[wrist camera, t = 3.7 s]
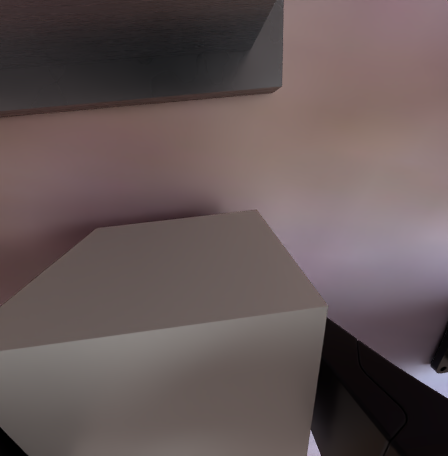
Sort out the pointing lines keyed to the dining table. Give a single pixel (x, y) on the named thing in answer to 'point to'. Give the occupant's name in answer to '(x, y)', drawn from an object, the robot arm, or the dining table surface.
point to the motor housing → (135, 52)
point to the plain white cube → (164, 344)
